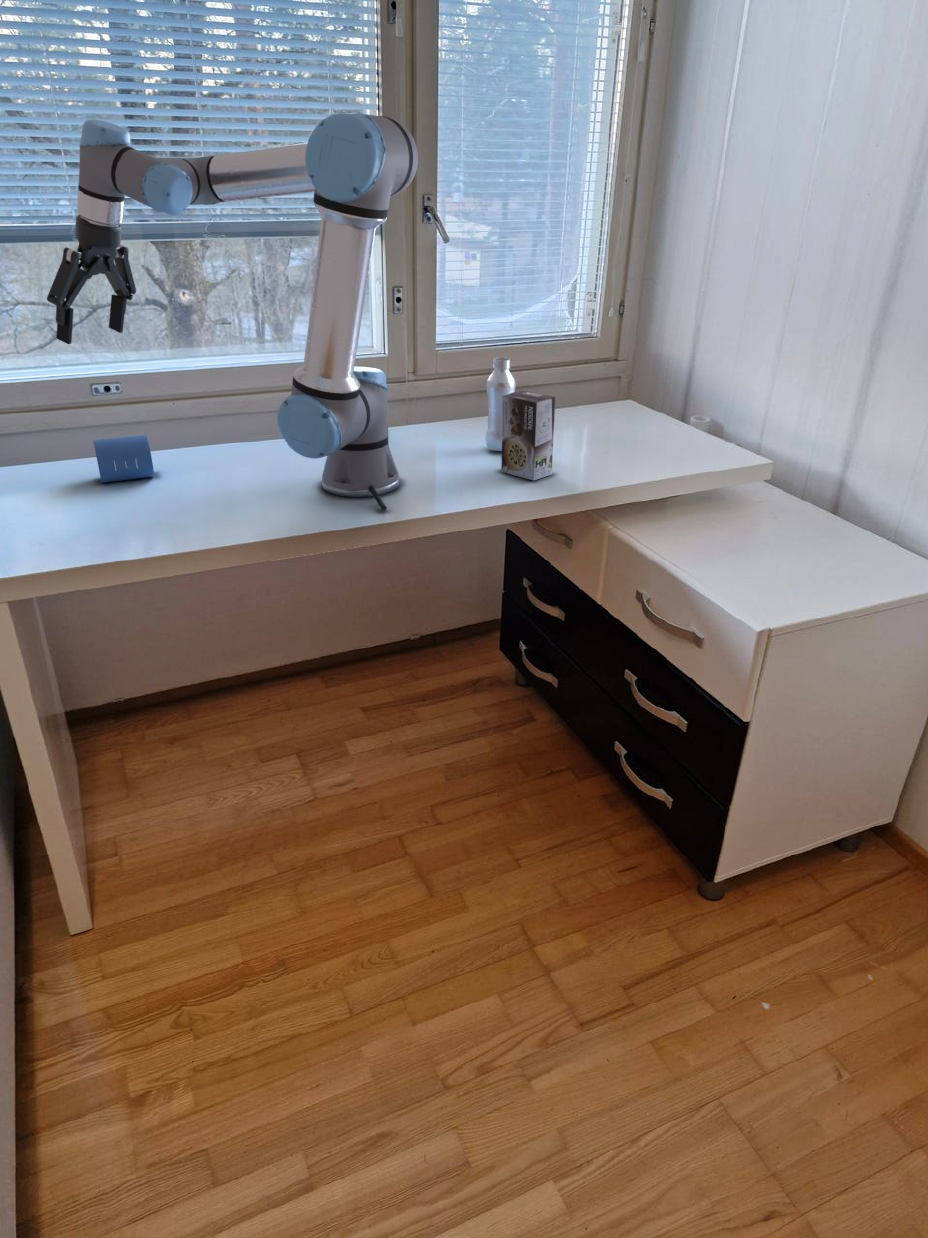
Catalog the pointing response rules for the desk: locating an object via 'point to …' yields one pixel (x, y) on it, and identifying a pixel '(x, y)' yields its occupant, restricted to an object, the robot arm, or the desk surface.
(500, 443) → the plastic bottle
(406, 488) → the desk surface
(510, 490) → the desk surface
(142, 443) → the measuring cup
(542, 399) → the coffee box
